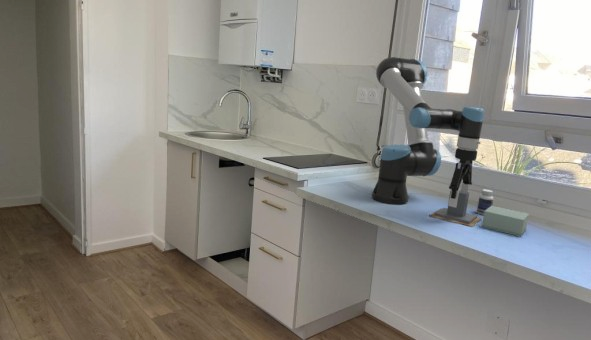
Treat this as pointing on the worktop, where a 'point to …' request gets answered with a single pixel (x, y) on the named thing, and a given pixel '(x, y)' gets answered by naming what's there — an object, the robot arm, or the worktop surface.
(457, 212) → the lid
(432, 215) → the plate
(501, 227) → the sage green block
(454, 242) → the worktop surface
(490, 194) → the pill bottle
